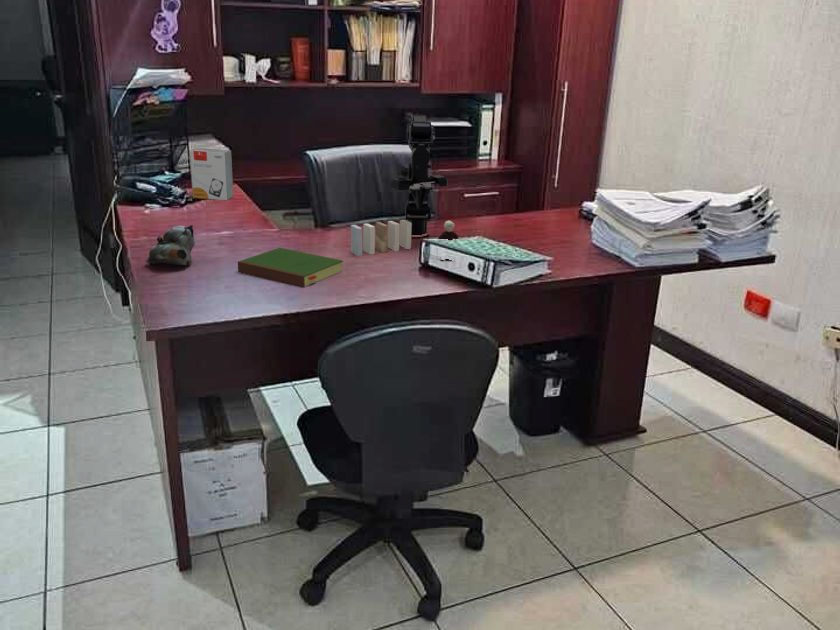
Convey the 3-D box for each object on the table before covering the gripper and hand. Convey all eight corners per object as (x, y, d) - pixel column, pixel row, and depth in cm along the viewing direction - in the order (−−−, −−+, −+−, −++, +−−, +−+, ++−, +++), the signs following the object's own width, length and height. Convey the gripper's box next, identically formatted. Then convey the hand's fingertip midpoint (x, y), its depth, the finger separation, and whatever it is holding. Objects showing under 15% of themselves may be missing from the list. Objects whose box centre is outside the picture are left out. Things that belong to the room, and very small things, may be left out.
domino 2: (367, 250, 242) (367, 223, 239) (374, 254, 238) (374, 226, 235) (363, 250, 241) (363, 223, 238) (370, 254, 237) (370, 227, 234)
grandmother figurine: (440, 262, 231) (441, 223, 227) (434, 259, 234) (435, 220, 230) (461, 259, 235) (463, 220, 230) (455, 256, 238) (457, 218, 233)
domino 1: (355, 251, 240) (355, 224, 237) (362, 255, 236) (362, 228, 233) (350, 252, 239) (350, 225, 236) (357, 256, 235) (357, 228, 232)
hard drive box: (192, 198, 309) (188, 150, 301) (200, 194, 316) (196, 147, 309) (227, 200, 306) (224, 152, 299) (234, 197, 313) (231, 149, 306)
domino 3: (379, 248, 244) (380, 222, 241) (386, 252, 240) (387, 225, 237) (375, 249, 244) (375, 222, 240) (382, 253, 240) (382, 225, 236)
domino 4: (391, 247, 247) (392, 220, 243) (399, 250, 243) (399, 224, 239) (387, 247, 246) (387, 221, 243) (394, 251, 242) (395, 224, 239)
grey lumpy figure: (140, 262, 222) (152, 218, 224) (179, 273, 229) (190, 230, 230) (154, 260, 210) (166, 214, 211) (195, 271, 216) (206, 226, 218)
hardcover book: (238, 274, 216) (237, 261, 215) (280, 259, 232) (279, 247, 230) (305, 289, 205) (305, 276, 204) (345, 273, 220) (345, 261, 219)
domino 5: (403, 245, 249) (404, 219, 246) (410, 249, 245) (411, 222, 242) (399, 246, 248) (399, 219, 245) (406, 249, 244) (407, 223, 241)
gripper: (431, 155, 250) (429, 200, 255) (382, 158, 240) (382, 205, 246) (449, 160, 241) (447, 207, 246) (399, 164, 232) (399, 213, 237)
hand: (418, 208), depth 244 cm, fingers closed
